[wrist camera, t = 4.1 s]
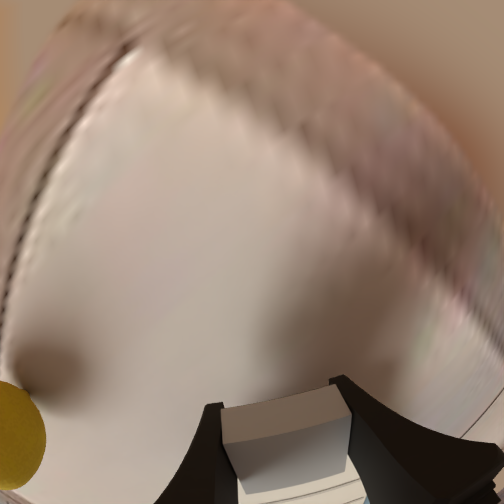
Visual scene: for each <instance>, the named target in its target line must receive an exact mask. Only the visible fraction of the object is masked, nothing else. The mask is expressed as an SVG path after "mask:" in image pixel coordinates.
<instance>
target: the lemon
mask: <svg viewBox="0 0 504 504" xmlns="http://www.w3.org/2000/svg"><path fill="white" fill-rule="evenodd" d="M45 447H46V432H45V426H44V422H43V419H42V417H41V414H40V412H39V410H38V409H37V407H36V405H35V404H34V402H33V401H32V400H31V398H30V395H29V393H28V392H27V391H26V390H23V389H19V388H17V387H16V386H14V385H12V384H10V383H8V382H3V381H0V490H13V489H17V488H19V487H22V486H23V485H25V484H26V483H27V482H28V481H29V480H30V479H31V478H32V477H33V475H34V474H35V473H36V471H37V470H38V468H39V466H40V464H41V461H42V459H43V455H44V452H45Z"/></svg>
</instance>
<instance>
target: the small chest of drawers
mask: <svg viewBox="0 0 504 504" xmlns="http://www.w3.org/2000/svg"><path fill="white" fill-rule="evenodd" d="M351 418H352V414H351V412H350V410H349V408H348V406H347V404H346V403H345V401H344V399H343V397H342V395H341V394H340V392H339V390H338V388H337V386H336V384H333V385H330V386H326V387H323V388H319V389H315V390H311V391H308V392H304V393H300V394H296V395H292V396H287V397H283V398H278V399H274V400H269V401H264V402H259V403H254V404H248V405H243V406H237V407H230V408H224V409H221V422H222V439H223V446H224V448H225V450H226V453H227V455H228V457H229V459H230V462H231V464H232V466H233V468H234V470H235V472H236V475H237V477H238V502H239V504H363V503H364V501H365V498H366V496H367V494H366V492H365V489H364V486H363V484H362V481H361V479H360V477H359V475H358V473H357V471H356V469H355V467H354V465H353V463H352V462H351V460H350V458H349V456H348V454H347V453H348V445H349V437H350V428H351Z"/></svg>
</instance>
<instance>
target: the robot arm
mask: <svg viewBox="0 0 504 504" xmlns="http://www.w3.org/2000/svg"><path fill="white" fill-rule="evenodd" d="M333 384H336V386H337V388H338V390H339V392H340V394H341V395H342V397H343V399H344V401H345V403H346V404H347V406H348V408H349V410H350V412H351V414H352V418H351V428H350V437H349V445H348V453H347V454H348V456H349V458H350V460H351V462H352V463H353V465H354V467H355V469H356V471H357V473H358V475H359V477H360V479H361V481H362V484H363V486H364V489H365V492H366V494H367V497H368V500H369V503H370V504H504V488H503V489H502V490H501V491H500V492H498V493H497V494H496V492H495V491H494V490H493V489H494V488H495V486H496V484H495V483H494V482H493V479H494V478H495V476H496V475H497V474H498V473H499V472H500V471H501V469H502V468H503V467H504V452H503V451H502V450H501V449H500V448H499V447H498V446H497V445H496V444H495V443H485V442H476V441H469V440H464V439H460V438H455V437H452V436H448V435H445V434H442V433H439V432H436V431H433V430H430V429H428V428H425V427H423V426H421V425H418V424H416V423H414V422H412V421H410V420H408V419H406V418H404V417H403V416H401V415H399V414H397V413H396V412H394V411H392V410H391V409H389V408H388V407H386V406H385V405H383V404H382V403H380V402H379V401H377V400H376V399H374V398H373V397H372V396H370V395H369V394H368V393H366V392H365V391H364V390H363V389H361V388H360V387H359V386H357V385H356V384H355V383H354V382H353V381H351V380H350V379H349V378H348V377H347V376H345V375H341V376H337V377H334V378H330V379H329V386H330V385H333ZM221 409H224V405H223V402H219V403H212V404H206V406H205V407H204V411H203V414H202V417H201V420H200V423H199V426H198V428H197V431H196V433H195V436H194V438H193V440H192V443H191V445H190V447H189V450H188V452H187V454H186V455H185V457H184V459H183V461H182V463H181V465H180V467H179V469H178V470H177V472H176V474H175V475H174V477H173V478H172V480H171V481H170V483H169V484H168V486H167V487H166V489H165V490H164V491H163V493H162V494H161V495H160V497H159V498H158V499H157V500H156V502H155V503H154V504H239V502H238V477H237V475H236V472H235V470H234V468H233V466H232V464H231V462H230V459H229V457H228V455H227V453H226V450H225V448H224V446H223V439H222V422H221Z"/></svg>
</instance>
